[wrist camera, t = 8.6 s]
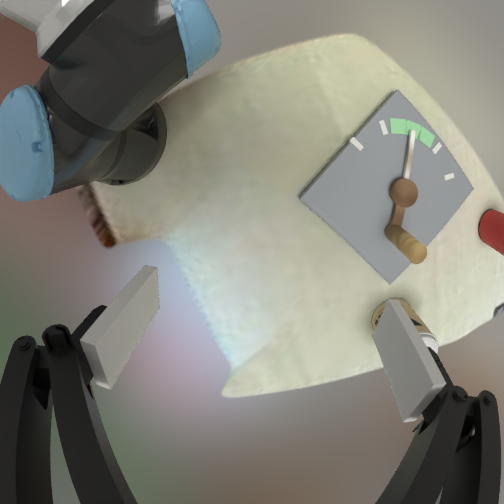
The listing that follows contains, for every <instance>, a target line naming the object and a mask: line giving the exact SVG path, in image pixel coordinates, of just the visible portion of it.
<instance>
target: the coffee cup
mask: <svg viewBox="0 0 504 504" xmlns="http://www.w3.org/2000/svg"><path fill="white" fill-rule="evenodd" d="M392 300H399V301H400V303H401V305H402V306H403V308H404V309H405V311H406V313H407V314H408V316H409V317H410V319H411V321H412V322H413V324H414V326H415V327H416V329H417V331H418V332H419V334H420V336H421V338H422V339H423V341H424V343H425V344H426V346H427V347H431V348H432V349H433V350H434V351H435V352H436V354H437V352H438V341H437V338H436V337H435V336H434V335H433V334H432V333H431V332H430V330H429V329H428V328H427V326H426V325H425V324H424V322H423V321H422V320H421V319H420V318H419V316H418V315H417V314H416V313H415V311H414V310H413V309H412V308H411V307H410V306H409V304H408V303H407V302H406V301H404V300H403V299H399V298H393V299H392ZM386 303H387V301H385V302H383V303H382V304H381V305H379V306H378V308H377V309H376V310H375V312H374V314H373V317H372V325H373V329H374V331H375V329H376V326H377V324H378V322H379V319H380V317H381V315H382V312H383V310H384V308H385V305H386ZM384 369H385V368H384ZM385 372H386V371H385Z"/></svg>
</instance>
